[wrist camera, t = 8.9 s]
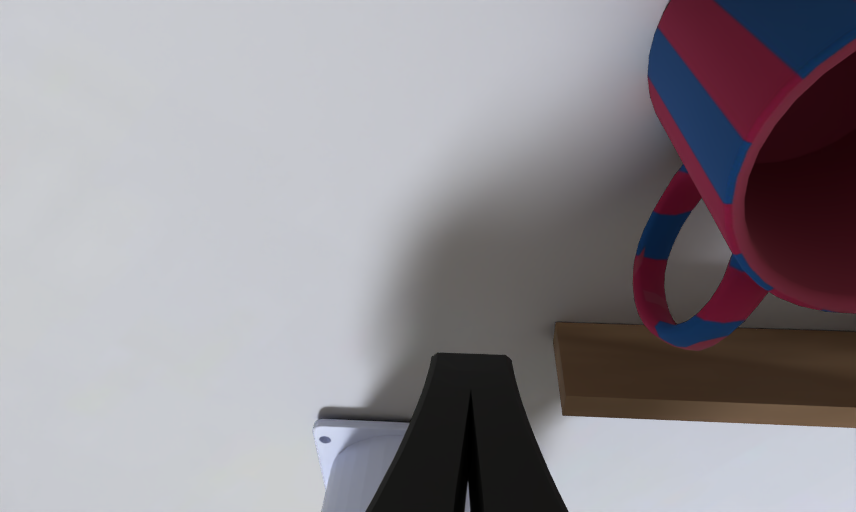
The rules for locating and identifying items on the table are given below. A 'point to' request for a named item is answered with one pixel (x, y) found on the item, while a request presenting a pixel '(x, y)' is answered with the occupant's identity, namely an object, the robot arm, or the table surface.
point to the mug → (755, 156)
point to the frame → (708, 376)
